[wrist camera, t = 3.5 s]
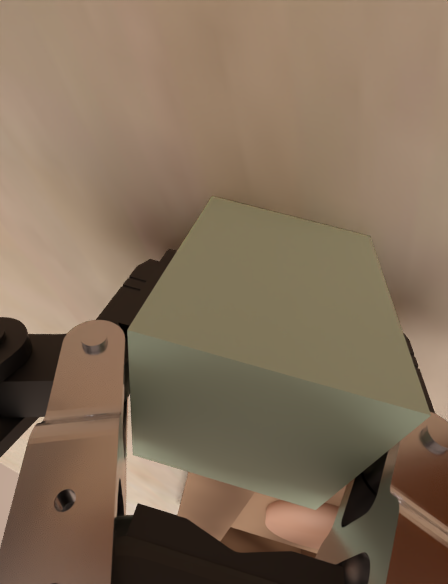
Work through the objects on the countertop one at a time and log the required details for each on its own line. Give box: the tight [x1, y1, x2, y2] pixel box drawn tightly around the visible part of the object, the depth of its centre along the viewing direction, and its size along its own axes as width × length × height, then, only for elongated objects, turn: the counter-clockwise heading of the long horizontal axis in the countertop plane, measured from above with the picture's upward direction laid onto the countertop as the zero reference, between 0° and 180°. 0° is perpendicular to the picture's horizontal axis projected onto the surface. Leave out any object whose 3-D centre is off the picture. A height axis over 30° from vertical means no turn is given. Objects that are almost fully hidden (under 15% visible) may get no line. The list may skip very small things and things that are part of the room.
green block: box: [127, 196, 431, 510], centre depth 9 cm, size 5×5×6 cm
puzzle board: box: [177, 472, 347, 558], centre depth 20 cm, size 14×20×4 cm
